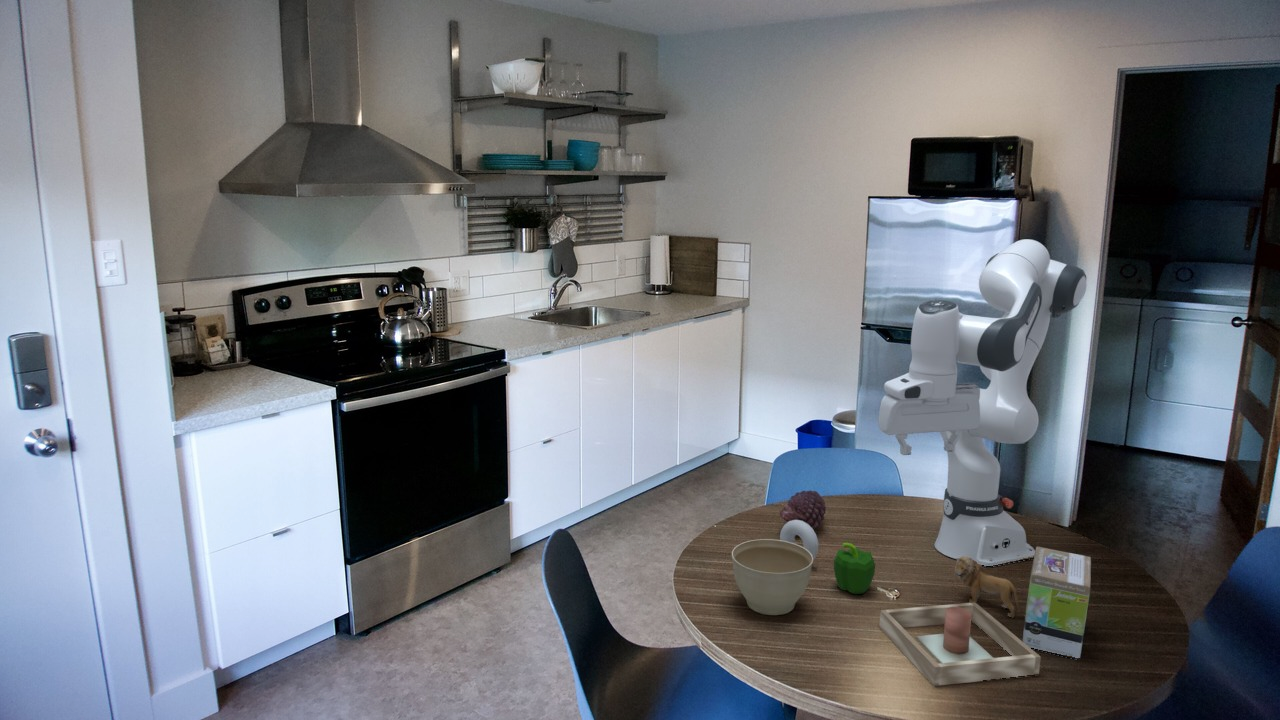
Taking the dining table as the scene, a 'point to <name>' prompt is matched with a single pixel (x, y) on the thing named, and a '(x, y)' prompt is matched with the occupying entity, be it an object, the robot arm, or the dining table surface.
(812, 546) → the donut
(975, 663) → the corral
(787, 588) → the planter bowl
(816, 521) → the pine cone
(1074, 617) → the tea box
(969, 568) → the lion figurine
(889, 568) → the dining table surface
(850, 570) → the bell pepper
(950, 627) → the reddish pink cylinder
